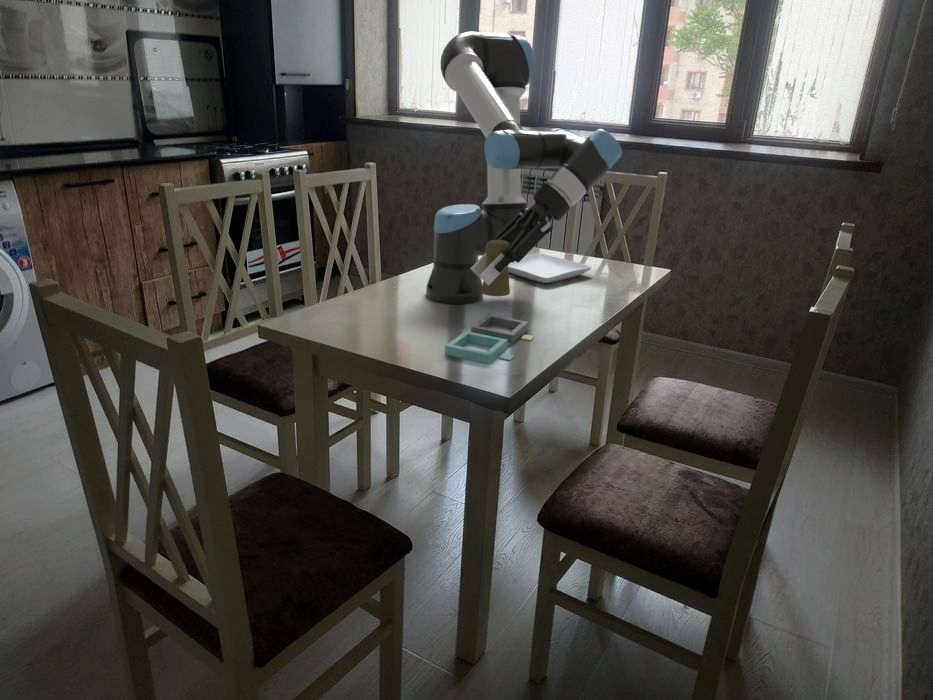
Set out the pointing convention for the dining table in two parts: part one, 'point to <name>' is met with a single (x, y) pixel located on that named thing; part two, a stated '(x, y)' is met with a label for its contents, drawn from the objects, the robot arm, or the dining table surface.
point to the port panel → (488, 339)
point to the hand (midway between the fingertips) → (479, 276)
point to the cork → (502, 280)
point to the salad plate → (546, 268)
